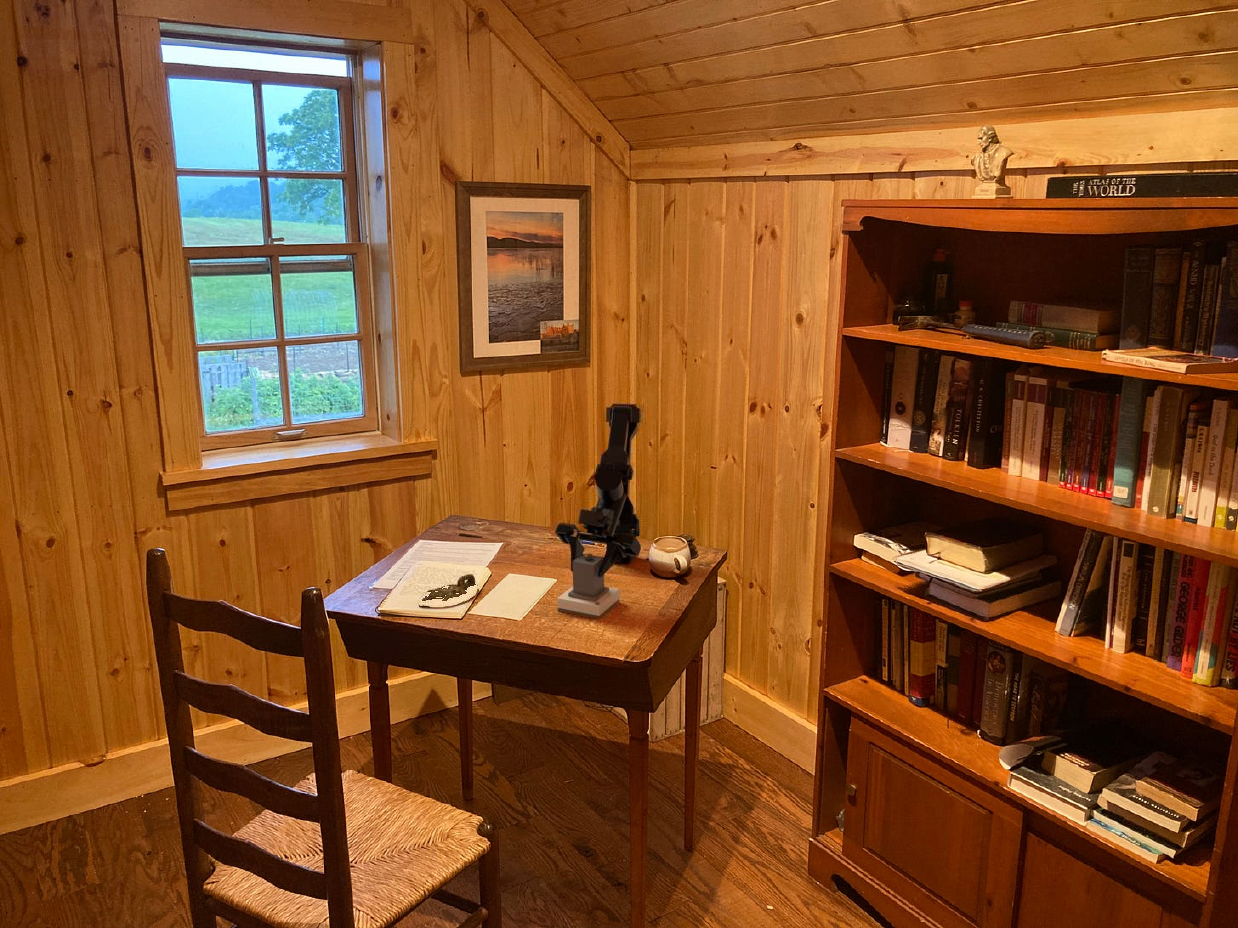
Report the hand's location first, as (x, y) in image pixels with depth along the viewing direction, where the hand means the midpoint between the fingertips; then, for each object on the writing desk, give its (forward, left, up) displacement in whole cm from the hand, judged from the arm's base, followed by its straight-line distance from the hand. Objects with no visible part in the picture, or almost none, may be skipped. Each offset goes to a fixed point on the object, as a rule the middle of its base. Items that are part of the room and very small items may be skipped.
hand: (585, 574), depth 212 cm
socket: (-1, 0, -8) cm, 8 cm away
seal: (+3, -31, -9) cm, 33 cm away
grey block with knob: (-1, 0, -7) cm, 7 cm away
